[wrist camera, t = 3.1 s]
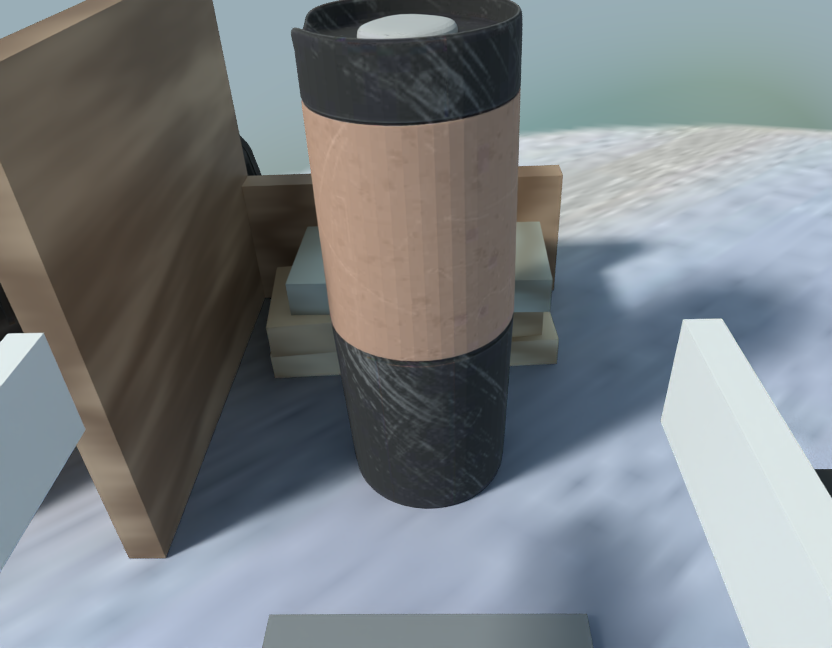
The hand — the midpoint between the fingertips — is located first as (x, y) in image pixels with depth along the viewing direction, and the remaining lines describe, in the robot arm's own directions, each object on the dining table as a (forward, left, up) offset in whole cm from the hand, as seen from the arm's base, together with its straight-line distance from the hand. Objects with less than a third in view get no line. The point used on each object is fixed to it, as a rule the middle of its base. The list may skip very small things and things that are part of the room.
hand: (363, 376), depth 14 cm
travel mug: (-1, -13, -15) cm, 20 cm away
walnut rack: (+1, -18, -15) cm, 23 cm away
